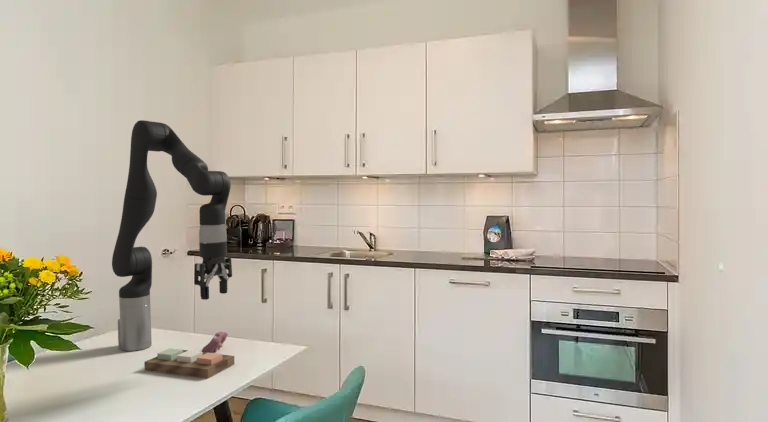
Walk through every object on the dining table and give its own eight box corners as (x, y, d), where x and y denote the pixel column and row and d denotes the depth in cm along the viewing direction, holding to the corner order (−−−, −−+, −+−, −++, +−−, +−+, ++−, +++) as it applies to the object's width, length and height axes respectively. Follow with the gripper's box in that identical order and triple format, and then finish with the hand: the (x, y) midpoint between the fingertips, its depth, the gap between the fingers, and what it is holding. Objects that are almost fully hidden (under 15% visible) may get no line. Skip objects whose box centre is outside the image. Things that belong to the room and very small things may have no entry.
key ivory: (176, 363, 148) (176, 355, 148) (188, 358, 153) (188, 350, 153) (191, 365, 147) (190, 357, 146) (202, 359, 151) (202, 351, 151)
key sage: (157, 361, 151) (157, 353, 150) (170, 356, 155) (169, 348, 155) (171, 363, 149) (171, 354, 149) (183, 357, 154) (183, 349, 154)
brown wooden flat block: (144, 370, 148) (144, 360, 148) (174, 357, 159) (174, 348, 159) (208, 378, 141) (207, 367, 140) (234, 364, 152) (234, 354, 152)
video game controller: (212, 359, 161) (222, 340, 161) (199, 353, 161) (209, 333, 161) (223, 350, 171) (232, 331, 171) (211, 344, 171) (219, 325, 171)
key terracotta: (196, 366, 146) (196, 357, 146) (208, 360, 151) (208, 352, 151) (211, 367, 144) (211, 359, 144) (222, 362, 149) (222, 354, 149)
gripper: (217, 237, 156) (218, 291, 156) (185, 242, 142) (187, 300, 143) (238, 238, 153) (239, 292, 154) (208, 243, 140) (209, 302, 140)
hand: (214, 296), depth 148 cm, fingers open, 8 cm apart
